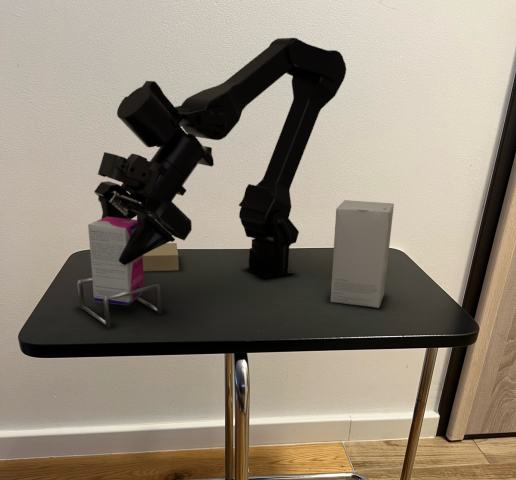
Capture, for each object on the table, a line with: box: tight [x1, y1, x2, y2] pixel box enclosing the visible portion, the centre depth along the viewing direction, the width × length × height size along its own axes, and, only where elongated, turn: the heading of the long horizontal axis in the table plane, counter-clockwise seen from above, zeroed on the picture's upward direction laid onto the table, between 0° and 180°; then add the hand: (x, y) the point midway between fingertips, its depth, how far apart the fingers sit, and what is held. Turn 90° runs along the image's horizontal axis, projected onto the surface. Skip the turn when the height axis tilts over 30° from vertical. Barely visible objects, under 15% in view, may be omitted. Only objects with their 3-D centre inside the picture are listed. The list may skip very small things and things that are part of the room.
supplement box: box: [87, 217, 145, 306], centre depth 79 cm, size 6×6×12 cm
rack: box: [76, 277, 163, 329], centre depth 82 cm, size 9×9×5 cm
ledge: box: [143, 242, 180, 272], centre depth 102 cm, size 12×8×3 cm, turn 100°
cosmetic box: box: [330, 199, 395, 309], centre depth 86 cm, size 8×7×16 cm
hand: (107, 256), depth 78 cm, fingers closed on supplement box, 7 cm apart
